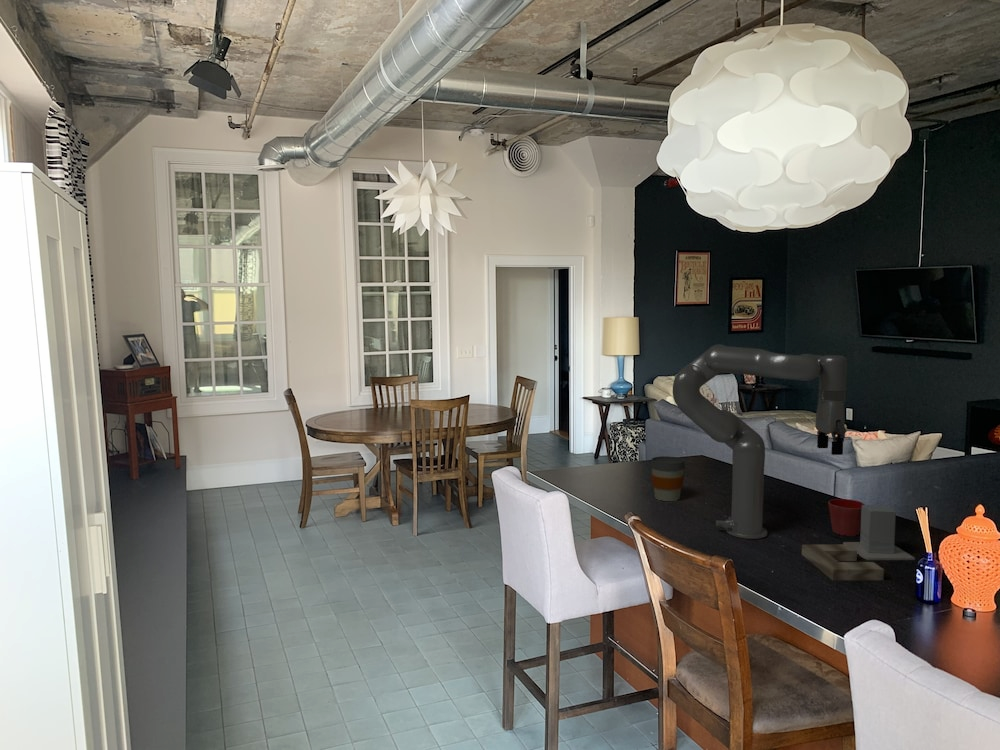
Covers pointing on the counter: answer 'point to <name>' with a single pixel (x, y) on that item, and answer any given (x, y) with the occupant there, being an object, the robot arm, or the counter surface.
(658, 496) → the reusable coffee cup
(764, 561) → the counter surface
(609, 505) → the counter surface
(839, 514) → the flower pot
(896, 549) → the tile
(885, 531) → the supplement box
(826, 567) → the box dock
